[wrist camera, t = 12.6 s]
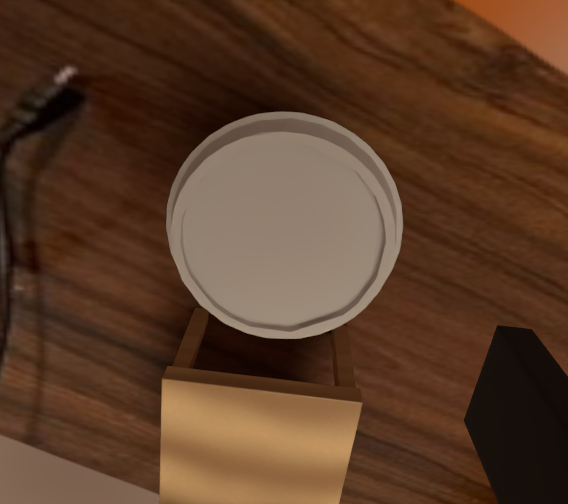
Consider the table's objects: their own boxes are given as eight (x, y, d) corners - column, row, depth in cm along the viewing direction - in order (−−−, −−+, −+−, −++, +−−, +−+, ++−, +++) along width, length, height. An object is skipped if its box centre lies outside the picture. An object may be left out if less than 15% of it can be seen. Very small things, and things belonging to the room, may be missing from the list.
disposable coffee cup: (206, 227, 31) (154, 332, 21) (218, 71, 28) (162, 98, 17) (352, 248, 32) (378, 363, 21) (385, 96, 28) (438, 138, 17)
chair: (192, 303, 34) (87, 560, 17) (350, 323, 34) (393, 595, 18) (186, 425, 38) (98, 719, 22) (326, 441, 38) (342, 746, 22)
